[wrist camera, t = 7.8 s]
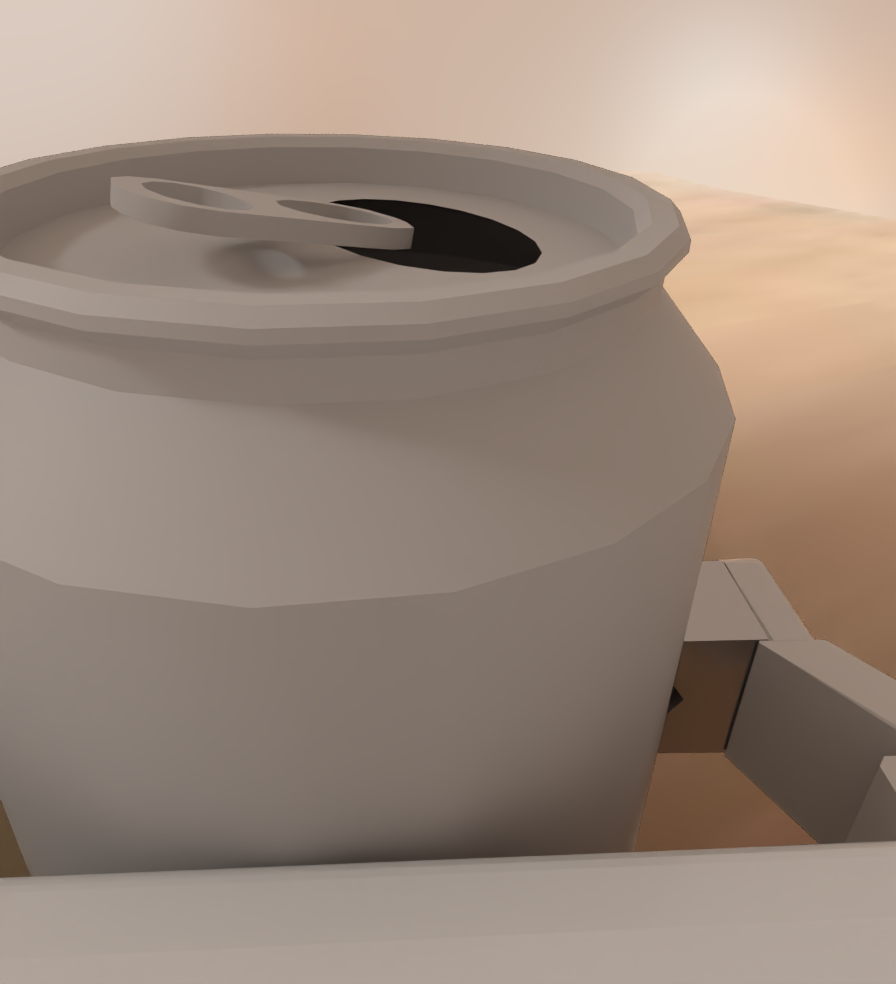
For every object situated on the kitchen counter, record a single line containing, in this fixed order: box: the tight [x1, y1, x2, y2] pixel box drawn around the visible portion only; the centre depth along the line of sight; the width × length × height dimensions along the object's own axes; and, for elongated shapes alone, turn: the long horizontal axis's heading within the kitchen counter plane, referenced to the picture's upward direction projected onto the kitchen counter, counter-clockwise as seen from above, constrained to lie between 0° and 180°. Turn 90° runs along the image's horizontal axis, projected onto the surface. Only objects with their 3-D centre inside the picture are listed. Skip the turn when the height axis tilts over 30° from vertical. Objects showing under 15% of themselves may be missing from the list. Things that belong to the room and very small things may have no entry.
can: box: [0, 134, 736, 877], centre depth 10 cm, size 8×8×12 cm
